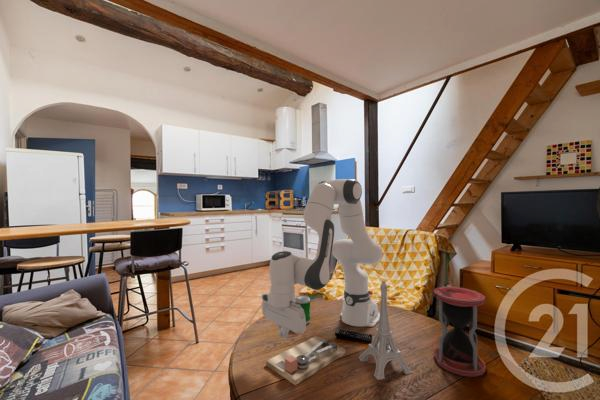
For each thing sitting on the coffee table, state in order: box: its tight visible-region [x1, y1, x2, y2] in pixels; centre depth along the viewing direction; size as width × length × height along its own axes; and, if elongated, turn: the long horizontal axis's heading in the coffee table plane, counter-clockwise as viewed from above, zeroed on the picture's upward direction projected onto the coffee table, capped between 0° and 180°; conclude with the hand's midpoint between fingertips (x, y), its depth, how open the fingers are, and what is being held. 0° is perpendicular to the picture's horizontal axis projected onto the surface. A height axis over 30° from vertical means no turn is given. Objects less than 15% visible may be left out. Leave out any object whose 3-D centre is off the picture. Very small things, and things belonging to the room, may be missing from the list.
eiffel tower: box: [357, 279, 414, 381], centre depth 98 cm, size 13×13×30 cm
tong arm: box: [297, 338, 330, 365], centre depth 101 cm, size 18×4×2 cm, turn 147°
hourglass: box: [432, 286, 486, 378], centre depth 99 cm, size 16×16×25 cm
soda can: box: [295, 294, 311, 325], centre depth 133 cm, size 8×8×12 cm
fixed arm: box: [297, 341, 338, 370], centre depth 100 cm, size 19×5×2 cm, turn 128°
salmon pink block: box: [285, 355, 297, 373], centre depth 93 cm, size 3×3×4 cm
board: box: [265, 335, 346, 386], centre depth 102 cm, size 26×15×2 cm, turn 134°
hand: (283, 336), depth 99 cm, fingers closed
